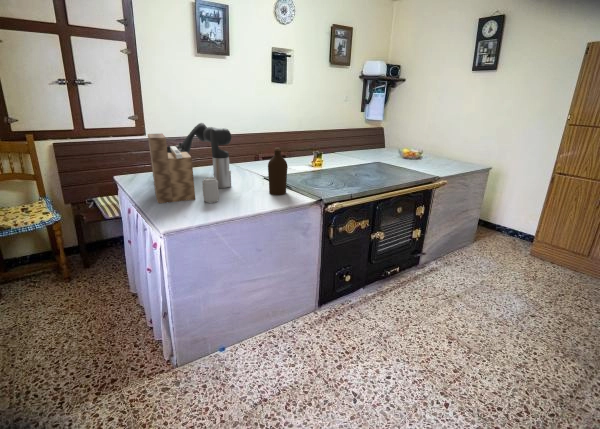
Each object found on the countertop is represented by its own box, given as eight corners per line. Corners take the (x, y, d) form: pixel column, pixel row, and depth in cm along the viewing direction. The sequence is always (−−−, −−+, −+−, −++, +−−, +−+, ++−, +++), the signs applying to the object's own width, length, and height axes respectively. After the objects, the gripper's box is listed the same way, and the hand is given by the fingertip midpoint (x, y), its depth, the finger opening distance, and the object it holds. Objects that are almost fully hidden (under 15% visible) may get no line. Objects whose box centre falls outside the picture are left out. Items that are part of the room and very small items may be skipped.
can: (204, 203, 171) (202, 180, 167) (203, 199, 178) (202, 176, 174) (219, 203, 173) (218, 179, 169) (218, 198, 180) (217, 176, 175)
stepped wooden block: (190, 191, 191) (184, 132, 180) (195, 199, 177) (189, 136, 166) (155, 194, 183) (147, 133, 172) (158, 203, 170) (149, 138, 159)
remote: (175, 149, 188) (175, 145, 188) (182, 158, 167) (181, 153, 166) (170, 150, 187) (170, 145, 187) (176, 158, 165) (176, 154, 165)
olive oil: (275, 196, 184) (275, 150, 176) (264, 192, 192) (263, 147, 183) (291, 193, 191) (291, 148, 182) (279, 189, 198) (279, 145, 190)
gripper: (184, 160, 203) (186, 150, 188) (158, 162, 197) (158, 151, 182) (182, 148, 203) (184, 137, 189) (156, 149, 198) (156, 138, 183)
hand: (171, 144), depth 185 cm, fingers open, 8 cm apart
